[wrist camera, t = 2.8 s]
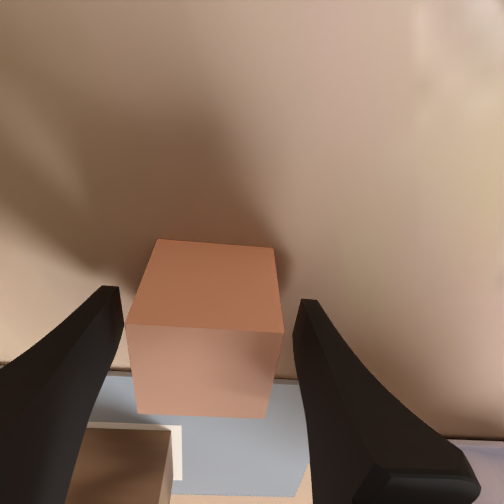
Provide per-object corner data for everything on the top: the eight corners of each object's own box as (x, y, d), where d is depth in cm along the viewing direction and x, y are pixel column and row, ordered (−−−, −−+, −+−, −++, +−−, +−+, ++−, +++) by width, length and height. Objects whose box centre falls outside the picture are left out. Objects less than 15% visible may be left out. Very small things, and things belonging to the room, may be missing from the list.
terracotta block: (273, 246, 14) (284, 332, 10) (259, 326, 16) (264, 418, 12) (157, 237, 13) (124, 323, 10) (162, 320, 16) (137, 413, 12)
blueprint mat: (338, 382, 18) (340, 387, 18) (293, 492, 26) (294, 497, 26) (-14, 364, 17) (-18, 370, 17) (50, 486, 25) (47, 492, 25)
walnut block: (171, 430, 20) (154, 523, 17) (173, 476, 24) (160, 562, 20) (66, 427, 20) (25, 521, 16) (83, 474, 23) (53, 561, 20)
